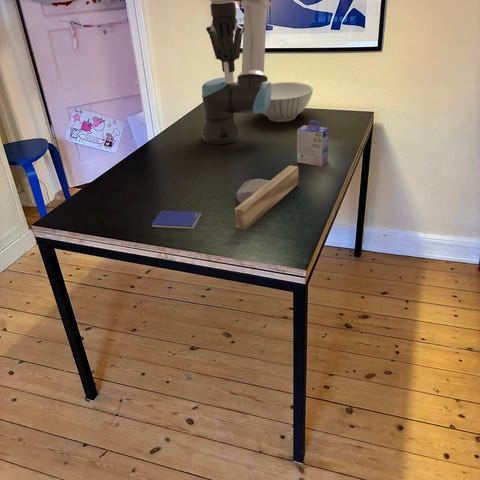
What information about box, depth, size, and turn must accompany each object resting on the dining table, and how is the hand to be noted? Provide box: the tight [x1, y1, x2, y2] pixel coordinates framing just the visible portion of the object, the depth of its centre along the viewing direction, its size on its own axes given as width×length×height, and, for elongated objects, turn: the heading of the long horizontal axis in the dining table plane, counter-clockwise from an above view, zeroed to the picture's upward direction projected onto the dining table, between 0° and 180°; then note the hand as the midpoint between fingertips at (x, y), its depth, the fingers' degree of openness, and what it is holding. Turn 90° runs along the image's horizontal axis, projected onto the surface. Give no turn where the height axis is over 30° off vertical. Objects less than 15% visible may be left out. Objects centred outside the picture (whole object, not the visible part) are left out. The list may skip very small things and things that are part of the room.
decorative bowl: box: [262, 81, 314, 123], centre depth 210 cm, size 27×27×12 cm
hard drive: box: [151, 210, 202, 230], centre depth 140 cm, size 2×8×12 cm
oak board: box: [234, 164, 299, 231], centre depth 142 cm, size 3×32×6 cm, turn 147°
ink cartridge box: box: [296, 119, 330, 167], centre depth 165 cm, size 10×6×14 cm, turn 58°
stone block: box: [236, 178, 270, 204], centre depth 149 cm, size 12×5×10 cm
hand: (229, 82), depth 155 cm, fingers closed
